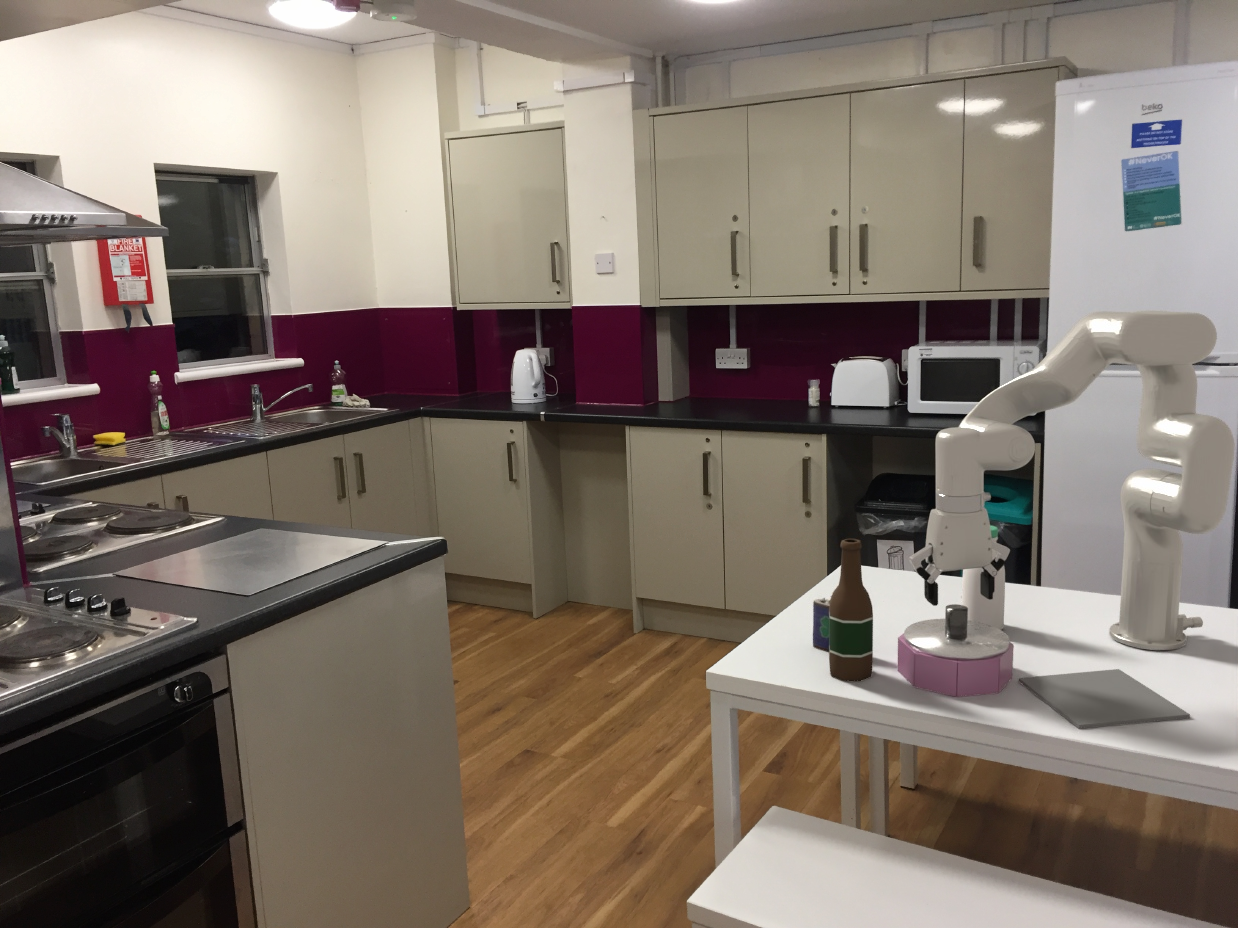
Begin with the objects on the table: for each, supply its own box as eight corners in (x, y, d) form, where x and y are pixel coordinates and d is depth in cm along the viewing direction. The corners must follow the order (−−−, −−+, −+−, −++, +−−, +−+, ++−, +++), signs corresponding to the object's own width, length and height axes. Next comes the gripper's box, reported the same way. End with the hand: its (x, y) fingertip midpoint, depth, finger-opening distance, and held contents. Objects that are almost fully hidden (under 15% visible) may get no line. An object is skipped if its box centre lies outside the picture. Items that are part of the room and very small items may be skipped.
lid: (979, 620, 182) (980, 588, 180) (1028, 655, 165) (1030, 620, 164) (888, 628, 180) (889, 595, 179) (929, 664, 163) (930, 629, 162)
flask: (861, 652, 185) (861, 597, 182) (854, 658, 182) (854, 601, 180) (816, 642, 190) (816, 588, 188) (808, 647, 188) (808, 592, 186)
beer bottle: (865, 685, 170) (866, 548, 166) (821, 677, 174) (821, 543, 170) (879, 669, 177) (881, 537, 172) (836, 661, 181) (837, 532, 176)
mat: (1118, 672, 172) (1118, 668, 172) (1189, 717, 154) (1190, 714, 154) (1018, 681, 170) (1018, 677, 170) (1078, 728, 152) (1079, 724, 152)
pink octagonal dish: (978, 651, 183) (979, 620, 182) (1027, 690, 166) (1029, 655, 165) (886, 659, 181) (886, 627, 180) (926, 699, 164) (927, 664, 163)
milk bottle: (1006, 635, 190) (1010, 532, 186) (963, 633, 192) (966, 532, 188) (999, 621, 198) (1003, 522, 194) (958, 619, 199) (961, 521, 195)
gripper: (997, 492, 172) (997, 587, 176) (900, 502, 171) (901, 598, 174) (1020, 502, 165) (1019, 601, 168) (918, 512, 163) (919, 612, 167)
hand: (959, 599), depth 171 cm, fingers open, 9 cm apart
